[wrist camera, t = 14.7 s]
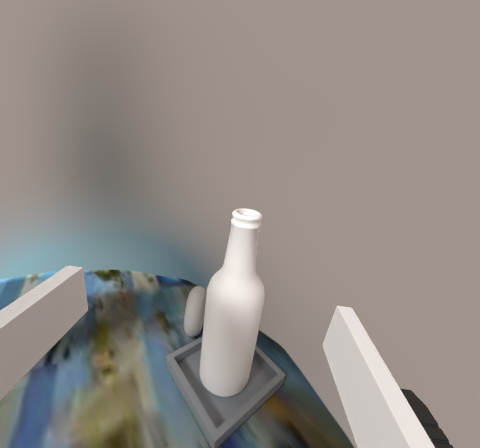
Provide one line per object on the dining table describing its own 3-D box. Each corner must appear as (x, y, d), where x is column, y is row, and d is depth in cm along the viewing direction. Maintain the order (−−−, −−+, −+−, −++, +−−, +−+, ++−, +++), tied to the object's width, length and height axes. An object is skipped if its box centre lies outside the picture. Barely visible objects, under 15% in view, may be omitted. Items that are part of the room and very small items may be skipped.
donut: (191, 311, 53) (194, 276, 50) (206, 313, 53) (209, 277, 50) (180, 347, 44) (182, 306, 40) (198, 349, 44) (201, 309, 40)
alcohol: (243, 350, 44) (269, 205, 34) (253, 397, 36) (291, 226, 26) (199, 352, 42) (212, 200, 32) (199, 403, 34) (216, 221, 24)
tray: (165, 366, 40) (165, 356, 39) (230, 329, 49) (231, 320, 49) (213, 453, 29) (214, 442, 29) (283, 384, 39) (286, 375, 38)
